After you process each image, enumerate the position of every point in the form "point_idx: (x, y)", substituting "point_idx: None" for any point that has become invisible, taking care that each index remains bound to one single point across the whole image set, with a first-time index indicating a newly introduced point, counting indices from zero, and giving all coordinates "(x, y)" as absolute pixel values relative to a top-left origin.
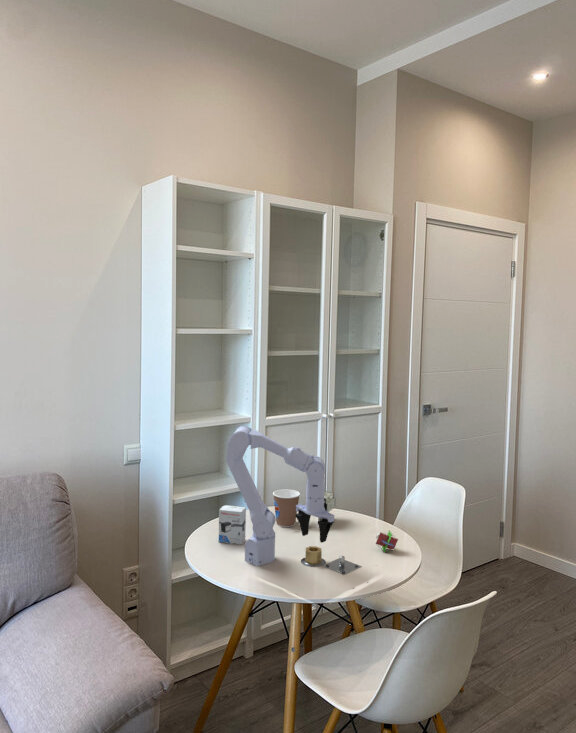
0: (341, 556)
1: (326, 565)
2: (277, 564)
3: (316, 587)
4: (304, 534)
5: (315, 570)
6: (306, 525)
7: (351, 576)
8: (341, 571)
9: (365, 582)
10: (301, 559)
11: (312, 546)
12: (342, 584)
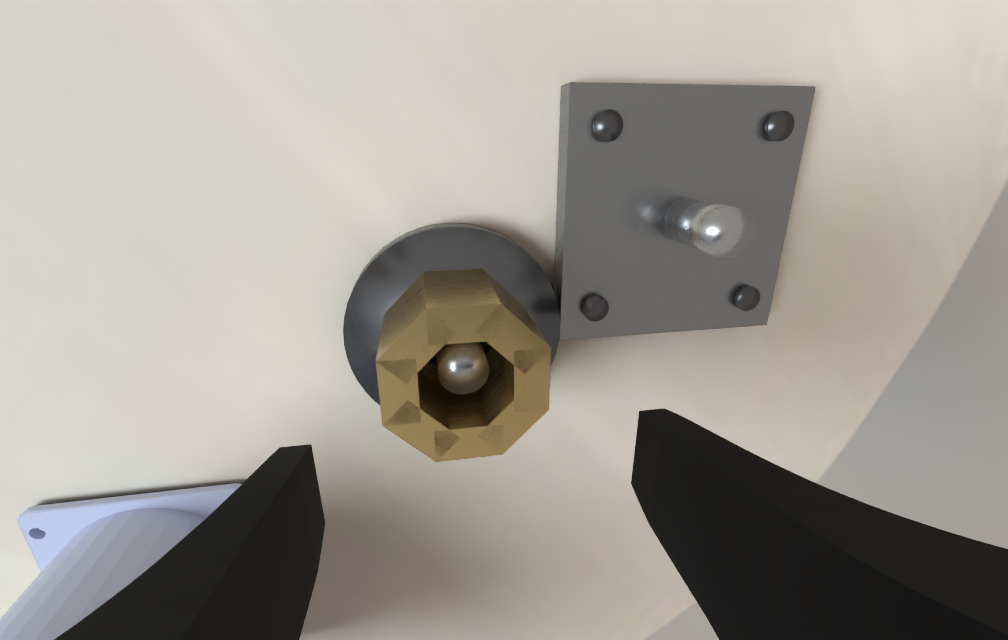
0: (720, 231)
1: (593, 320)
2: None
3: None
4: (318, 524)
5: None
6: (261, 609)
7: None
8: (725, 298)
9: (885, 255)
10: (358, 381)
11: (398, 343)
12: (779, 385)
